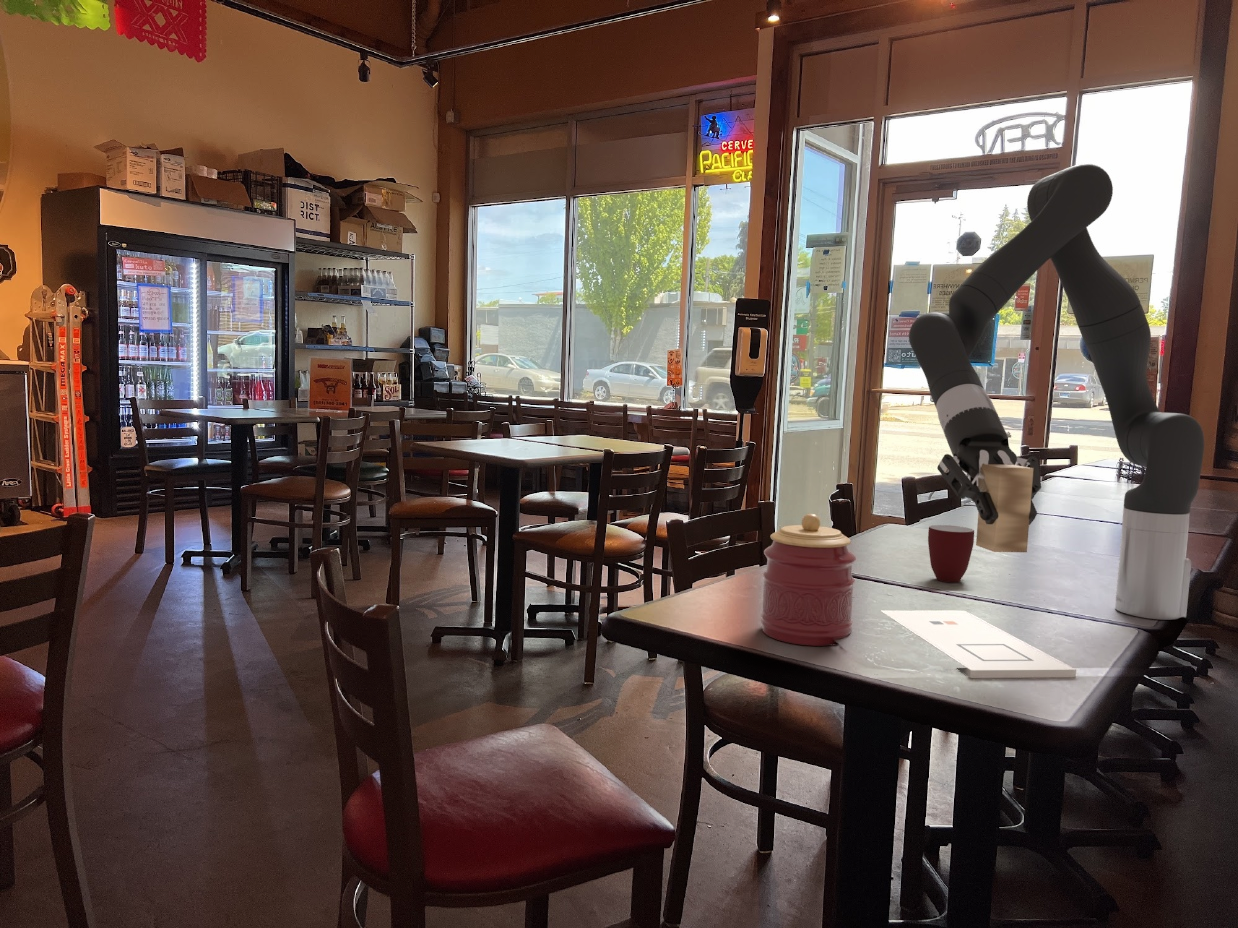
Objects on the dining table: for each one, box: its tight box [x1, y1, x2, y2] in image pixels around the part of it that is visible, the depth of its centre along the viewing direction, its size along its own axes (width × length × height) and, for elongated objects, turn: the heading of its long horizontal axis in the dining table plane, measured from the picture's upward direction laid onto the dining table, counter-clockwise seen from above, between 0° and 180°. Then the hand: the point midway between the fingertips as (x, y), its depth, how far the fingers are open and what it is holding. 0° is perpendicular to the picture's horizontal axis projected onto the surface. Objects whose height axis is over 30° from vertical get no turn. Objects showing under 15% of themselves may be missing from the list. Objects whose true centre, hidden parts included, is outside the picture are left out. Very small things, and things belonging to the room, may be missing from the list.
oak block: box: [975, 464, 1033, 553], centre depth 111 cm, size 4×4×11 cm
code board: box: [879, 609, 1077, 679], centre depth 120 cm, size 14×28×1 cm, turn 6°
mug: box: [927, 524, 975, 584], centre depth 161 cm, size 10×8×10 cm
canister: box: [760, 513, 857, 647], centre depth 122 cm, size 13×13×18 cm
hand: (1011, 520), depth 110 cm, fingers closed on oak block, 4 cm apart
